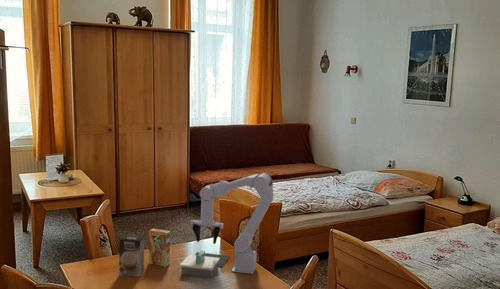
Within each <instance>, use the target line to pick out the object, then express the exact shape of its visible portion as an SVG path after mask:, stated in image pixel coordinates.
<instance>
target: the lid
mask: <svg viewBox="0 0 500 289" xmlns="http://www.w3.org/2000/svg"><path fill="white" fill-rule="evenodd" d="M198 252H199V253H198V254H197V255H195V254H188V255H187V256H186V258H184V260H183V261H182V262H181V263H180V264H179V267H180V268H181V267H189V268H197V269H205V270H213V268H214V267H215V266H216V264H217V263H218V261H219V260H220V258H215V257H207V256H205V253H206V252H205V250H200V251H198Z"/></svg>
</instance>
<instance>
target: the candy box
mask: <svg viewBox="0 0 500 289" xmlns="http://www.w3.org/2000/svg"><path fill="white" fill-rule="evenodd" d="M148 264H149V265H153V266H154V265H155V266H161V267H168V265H170V264H171V231H170V230H164V229H160V228H159V229H158V228H151V229H150V230H149V231H148Z"/></svg>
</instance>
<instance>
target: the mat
mask: <svg viewBox="0 0 500 289" xmlns="http://www.w3.org/2000/svg"><path fill="white" fill-rule="evenodd" d="M199 252H200V251H197V252H196V253H195V254H194V255H197V254H198V253H199ZM205 256H207V257H215V258H220V260H219V261H218V268H223V267H224V266H225V264H226V263H227V261H228V260H229V259H228V258H230V257H229V256H230V255H223V254H216V253H206V252H205Z"/></svg>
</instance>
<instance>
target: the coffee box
mask: <svg viewBox="0 0 500 289" xmlns="http://www.w3.org/2000/svg"><path fill="white" fill-rule="evenodd" d="M118 244H119V250H118V252H119V253H118V254H119V259H118V260H119V262H118V268H119V270H118V276H121V277H122V276H123V277H133V278H134V277H135V278H140V277H141V276H142V274H143V273H144V271H145V235H141V234H140V235H139V234H137V235H136V234H129V233H124V234H123V235H122V236H121V237H120V238H119V243H118Z"/></svg>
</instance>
